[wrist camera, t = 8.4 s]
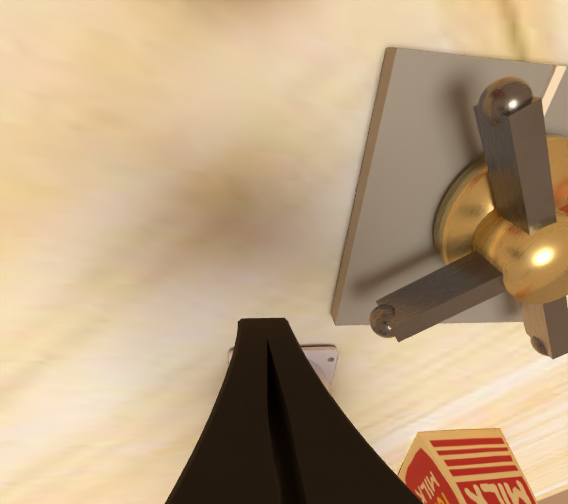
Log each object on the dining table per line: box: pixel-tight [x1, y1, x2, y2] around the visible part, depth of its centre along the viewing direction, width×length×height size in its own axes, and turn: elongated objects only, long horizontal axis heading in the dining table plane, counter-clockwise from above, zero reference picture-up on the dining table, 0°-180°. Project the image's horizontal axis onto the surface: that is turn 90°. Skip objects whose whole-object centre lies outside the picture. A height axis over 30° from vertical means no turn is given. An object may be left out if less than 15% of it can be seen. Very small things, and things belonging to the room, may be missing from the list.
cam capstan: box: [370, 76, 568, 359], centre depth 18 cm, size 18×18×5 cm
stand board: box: [331, 48, 568, 325], centre depth 20 cm, size 16×16×1 cm
